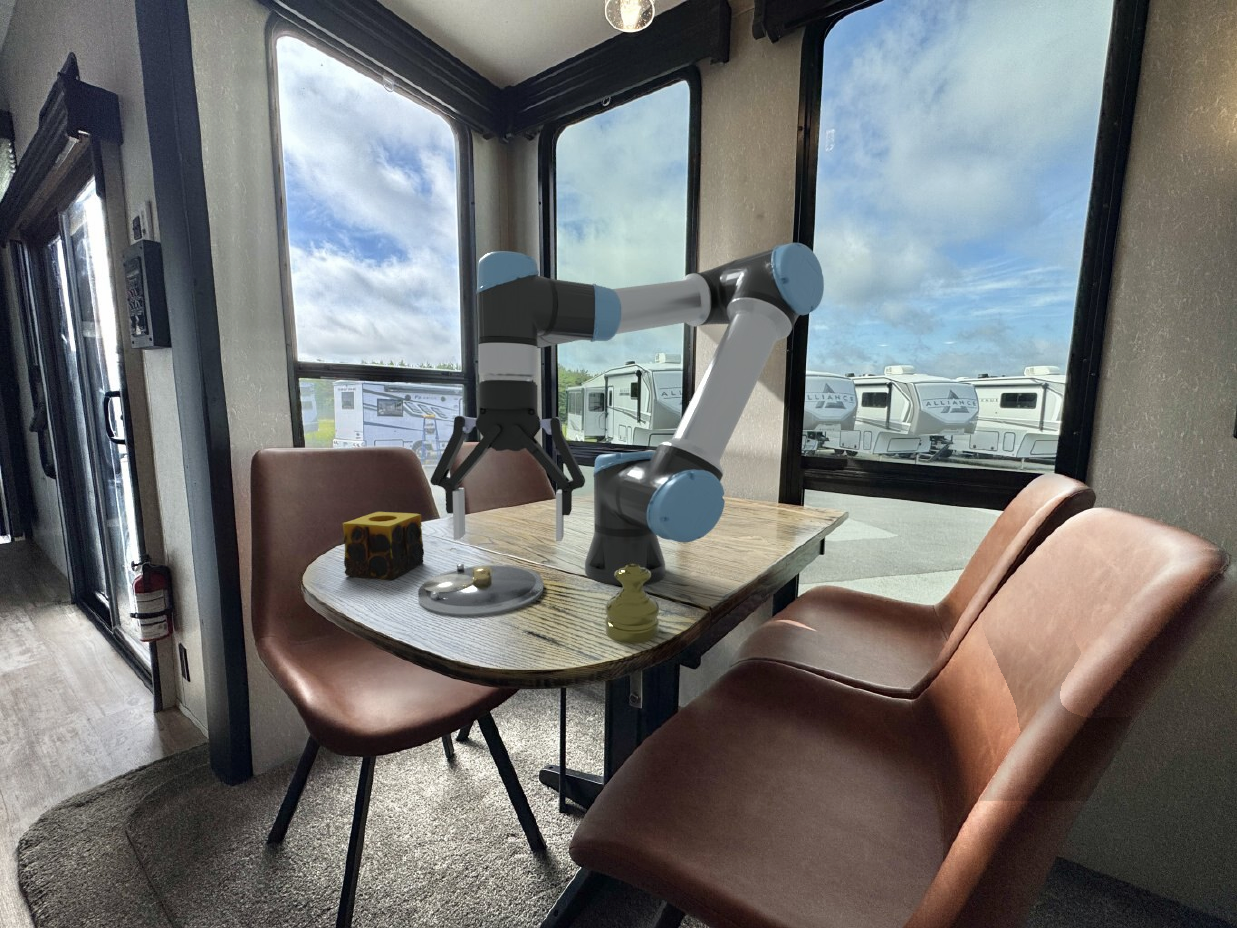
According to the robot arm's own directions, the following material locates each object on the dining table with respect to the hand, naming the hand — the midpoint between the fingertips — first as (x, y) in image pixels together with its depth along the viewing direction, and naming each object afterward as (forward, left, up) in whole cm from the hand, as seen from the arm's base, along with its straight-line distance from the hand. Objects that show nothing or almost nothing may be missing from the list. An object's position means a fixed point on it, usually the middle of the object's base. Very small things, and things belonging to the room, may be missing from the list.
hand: (509, 537), depth 69 cm
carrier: (+8, -14, -13) cm, 21 cm away
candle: (+29, -25, -14) cm, 41 cm away
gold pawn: (-17, +1, -14) cm, 22 cm away
